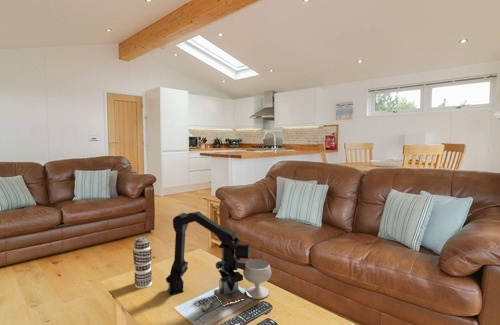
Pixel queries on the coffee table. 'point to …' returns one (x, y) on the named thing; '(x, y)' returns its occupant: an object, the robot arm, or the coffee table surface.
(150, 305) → the coffee table surface
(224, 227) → the robot arm
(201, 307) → the loose bolt
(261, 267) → the chalice
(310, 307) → the coffee table surface
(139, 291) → the coffee table surface
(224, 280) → the block
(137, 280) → the grey striped cylinder
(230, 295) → the plinth
